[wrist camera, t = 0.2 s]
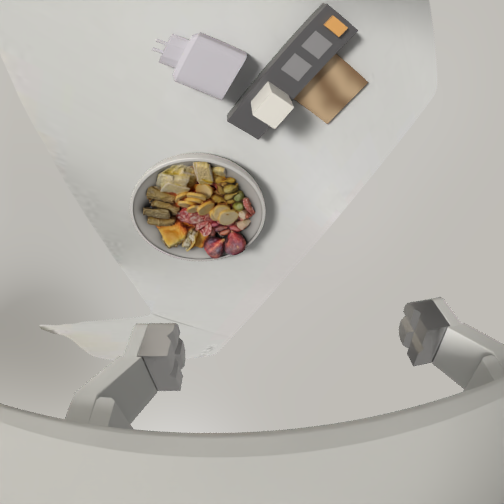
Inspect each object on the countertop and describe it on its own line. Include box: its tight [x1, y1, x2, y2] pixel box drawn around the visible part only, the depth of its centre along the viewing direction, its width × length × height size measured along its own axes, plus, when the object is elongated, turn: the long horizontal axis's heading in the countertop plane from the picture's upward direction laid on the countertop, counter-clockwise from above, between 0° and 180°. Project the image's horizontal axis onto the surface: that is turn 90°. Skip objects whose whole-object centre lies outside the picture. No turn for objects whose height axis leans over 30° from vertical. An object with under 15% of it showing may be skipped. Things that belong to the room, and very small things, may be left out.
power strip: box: [227, 3, 358, 140], centre depth 48 cm, size 28×7×4 cm, turn 144°
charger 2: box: [251, 81, 294, 129], centre depth 50 cm, size 5×4×8 cm
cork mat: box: [294, 54, 368, 124], centre depth 52 cm, size 12×9×1 cm
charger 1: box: [152, 32, 247, 100], centre depth 45 cm, size 5×9×15 cm
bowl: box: [130, 153, 266, 261], centre depth 70 cm, size 30×30×8 cm
